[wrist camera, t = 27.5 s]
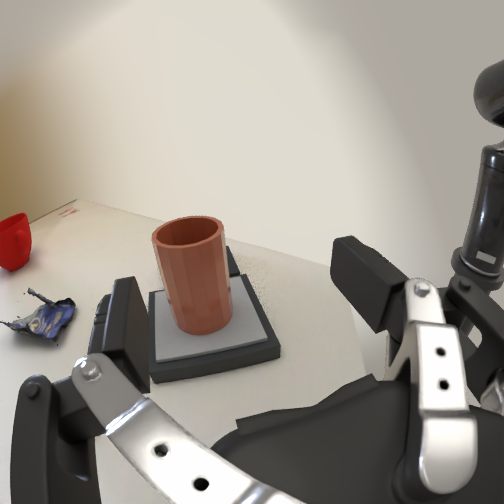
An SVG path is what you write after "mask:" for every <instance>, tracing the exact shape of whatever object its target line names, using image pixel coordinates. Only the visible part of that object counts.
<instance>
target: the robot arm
mask: <svg viewBox="0 0 504 504" xmlns="http://www.w3.org/2000/svg"><path fill="white" fill-rule="evenodd" d="M474 102H475V105H476V108H477V110H478V111H479V113H480V115H481V116H482V117H483V118H484V119H486V120H488V121H489V122H490V123H492V124H494V125H497V126H499V127H502V128H504V60H502V61H500V62H498V63H495V64H493V65H491V66H489V67H487V68H486V69H484V70H483V71H482V72H481V73H480V75H479V76H478V78H477V80H476V83H475V87H474ZM459 257H460V259H461V261H462V263H463V264H464V265H465V266H466V267H467V268H469V269H470V270H471V271H473V272H475V273H476V274H478V275H481V276H484V277H487V278H496V277H498V276H499V275H500V273H501V271H502V267H503V264H504V140H503V141H502V142H500V143H498V144H494V145H487V146H484V148H483V149H482V154H481V163H480V170H479V176H478V183H477V189H476V194H475V199H474V203H473V208H472V213H471V217H470V221H469V225H468V229H467V232H466V236H465V239H464V243H463V246H462V249H461V251H460V254H459ZM330 275H331V279H332V281H333V283H334V284H335V286H336V287H337V288H338V289H339V290H340V291H341V293H342V294H343V295H344V296H345V297H346V299H347V300H348V301H349V302H350V303H351V304H352V306H353V307H354V308H355V309H356V310H357V312H358V313H359V314H360V315H361V316H362V318H363V319H364V320H365V321H366V323H367V324H368V325H369V326H370V327H371V329H372V330H373V331H374V332H375V333H376V334H377V333H379V332H381V331H384V330H388V335H387V338H386V359H385V374H384V378H383V381H377V380H376V379H375V377H374V376H373V375H372V374H369V375H367V376H365V377H362V378H360V379H358V380H356V381H353V382H351V383H349V384H346V385H344V386H342V387H341V388H339V389H338V390H337V391H335V392H334V393H332V394H331V395H330V396H328V397H327V398H325V399H324V400H322V401H321V402H319V403H318V404H316V405H314V406H311V407H304V408H294V409H282V410H272V411H268V412H264V413H261V414H257V415H253V416H249V417H245V418H241V419H236V424H237V427H238V429H236V430H234V431H232V432H230V433H228V434H227V435H225V436H224V437H222V438H221V439H220V440H218V441H217V442H216V443H215V444H214V445H213V446H212V447H211V448H208V447H207V446H206V445H204V444H203V443H202V442H200V441H199V440H198V439H197V438H195V437H194V436H193V435H192V434H190V433H189V432H188V431H187V430H185V429H184V428H183V427H182V426H181V425H179V424H178V423H177V422H176V421H175V420H174V419H172V418H171V417H170V416H169V415H168V414H167V413H166V412H164V411H163V410H162V409H161V408H160V407H159V406H158V405H157V404H156V403H155V402H154V401H152V400H151V399H150V398H148V397H147V398H146V397H144V396H143V395H142V394H145V393H150V376H149V319H148V313H147V310H146V306H145V304H144V301H143V298H142V295H141V293H140V290H139V287H138V284H137V281H136V279H135V277H134V276H132V277H127V278H121V279H116V280H115V281H114V285H113V290H112V294H108V295H105V296H104V297H103V299H102V300H101V301H100V303H99V304H98V307H97V311H96V317H95V319H94V325H93V328H92V332H91V337H90V342H89V347H88V353H87V355H86V356H84V357H83V358H81V359H80V360H79V361H78V362H77V363H76V364H75V366H74V368H73V371H72V376H69V377H67V378H64V379H62V380H59V381H57V382H54V383H51V382H50V381H49V380H48V379H47V378H46V377H45V376H43V375H33V376H31V377H29V378H28V379H26V380H25V381H24V383H23V384H22V386H21V388H20V390H19V394H18V400H17V405H16V411H15V418H14V425H13V434H12V445H11V462H10V489H11V504H102V503H101V497H100V491H99V483H98V475H97V466H96V454H95V436H98V435H101V434H104V433H105V434H106V435H107V437H108V438H109V439H110V441H111V442H112V443H113V444H114V445H115V447H116V448H117V449H118V450H119V451H120V453H121V454H122V455H123V456H124V457H125V458H126V459H127V461H128V462H129V463H130V464H131V465H132V466H133V467H134V468H135V469H136V470H137V471H138V472H139V473H140V474H141V475H142V476H143V478H144V479H145V480H146V481H147V482H149V483H150V484H151V485H152V486H153V487H154V488H155V489H156V490H157V491H158V492H159V493H160V494H161V495H162V496H163V497H165V498H166V499H167V500H168V501H169V502H170V503H171V504H504V310H503V309H502V308H501V307H500V306H499V305H498V304H497V303H496V302H495V301H494V300H493V299H492V298H490V296H488V295H487V294H486V293H485V292H484V291H483V290H482V289H481V288H480V287H479V286H478V285H476V284H475V283H474V282H473V281H472V280H470V279H469V278H467V277H464V276H459V275H457V276H453V277H452V278H451V280H450V282H449V285H448V287H446V288H436V286H435V285H434V284H432V283H431V282H430V281H427V280H425V279H422V278H411V279H409V278H408V277H407V276H406V275H404V274H403V273H402V272H401V271H400V270H399V269H397V268H396V267H395V266H394V265H393V264H391V262H389V261H388V260H387V259H386V258H385V257H382V255H381V254H380V253H379V252H377V251H376V250H375V249H373V248H371V247H368V246H366V245H364V244H363V243H361V242H360V241H359V240H358V239H356V238H355V237H354V236H346V237H341V238H336V239H335V240H334V242H333V250H332V260H331V267H330ZM466 317H467V318H468V319H469V320H470V321H471V322H472V323H473V324H474V325H475V326H476V327H477V328H478V329H479V330H480V332H481V334H482V342H481V344H480V345H479V347H478V348H477V347H476V346H475V344H474V343H473V342H472V341H471V340H470V339H469V338H468V336H467V335H466V334H465V333H464V332H463V331H462V330H461V327H462V325H463V323H464V321H465V319H466ZM467 386H468V388H469V389H470V391H471V392H472V393H473V395H474V396H475V398H476V399H477V401H478V402H479V403H480V405H481V407H480V408H479V407H476V406H473V405H469V402H468V391H467Z"/></svg>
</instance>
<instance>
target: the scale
mask: <svg viewBox="0 0 504 504" xmlns="http://www.w3.org/2000/svg"><path fill="white" fill-rule="evenodd" d="M229 279H230V287H231V296H232V304H233V315H232V318H231V320H230V321H229V323H228V324H227V325H226V326H225V327H223V328H222V329H220V330H219V331H217V332H214V333H211V334H207V335H192V334H188V333H186V332H184V331H182V330H181V329H179V328H178V327H177V325H176V324H175V321H174V319H173V316H172V313H171V310H170V307H169V303H168V300H167V297H166V293H165V290H159V291H153V292H149V303H148V319H149V375H150V377H151V378H152V380H153V382H154V383H155V384H156V383H163V382H169V381H176V380H182V379H188V378H193V377H199V376H204V375H209V374H214V373H219V372H223V371H228V370H233V369H237V368H241V367H245V366H250V365H254V364H258V363H261V362H265V361H269V360H273V359H276V358H280V347H281V345H280V343H279V341H278V339H277V337H276V335H275V333H274V331H273V329H272V327H271V325H270V323H269V321H268V319H267V316H266V314H265V312H264V310H263V308H262V306H261V304H260V302H259V300H258V298H257V296H256V294H255V292H254V290H253V288H252V285H251V283H250V281H249V279H248V277H247V275H246V274H243V275H238V276H233V277H229Z"/></svg>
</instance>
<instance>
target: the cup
mask: <svg viewBox="0 0 504 504" xmlns="http://www.w3.org/2000/svg"><path fill="white" fill-rule="evenodd" d="M152 244H153V248H154V252H155V256H156V260H157V264H158V268H159V271H160V275H161V279H162V282H163V286H164V290H165V293H166V297H167V300H168V303H169V307H170V310H171V313H172V316H173V319H174V321H175V324H176V325H177V327H178V328H179V329H181V330H182V331H184V332H186V333H188V334H192V335H207V334H211V333H214V332H217V331H219V330H220V329H222V328H223V327H225V326H226V325H227V324H228V323H229V321H230V320H231V318H232V315H233V304H232V296H231V287H230V279H229V270H228V262H227V253H226V244H225V235H224V226H223V224H222V222H221V221H219V220H218V219H216V218H213V217H207V216H188V217H183V218H178V219H175V220H172V221H169V222H167V223H165V224H163V225H161V226H160V227H158V228H157V229H156V230H155V231H154V232H153V234H152Z"/></svg>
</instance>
